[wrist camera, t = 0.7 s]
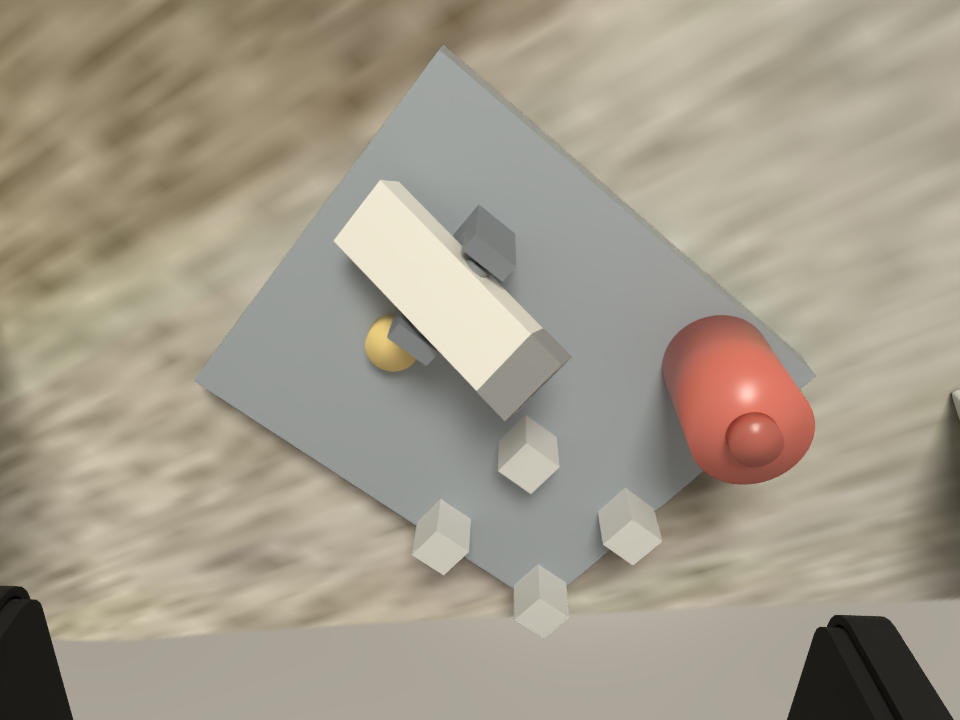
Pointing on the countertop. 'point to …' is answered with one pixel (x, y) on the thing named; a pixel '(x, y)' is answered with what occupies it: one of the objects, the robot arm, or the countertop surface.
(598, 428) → the panel
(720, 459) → the cap
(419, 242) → the lever
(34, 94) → the countertop surface
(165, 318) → the countertop surface
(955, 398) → the light bulb box
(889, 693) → the robot arm
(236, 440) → the countertop surface
